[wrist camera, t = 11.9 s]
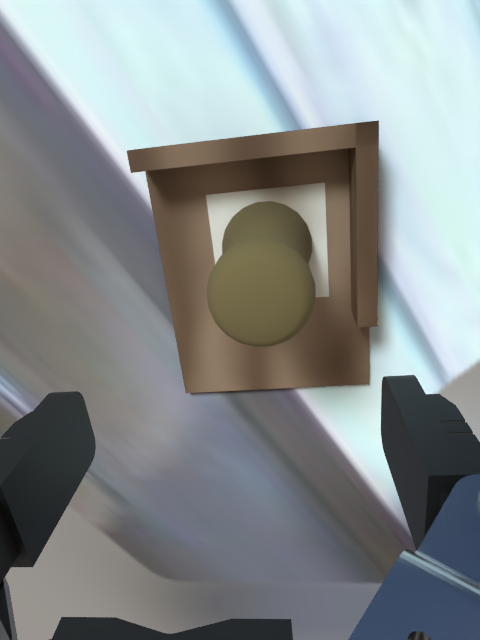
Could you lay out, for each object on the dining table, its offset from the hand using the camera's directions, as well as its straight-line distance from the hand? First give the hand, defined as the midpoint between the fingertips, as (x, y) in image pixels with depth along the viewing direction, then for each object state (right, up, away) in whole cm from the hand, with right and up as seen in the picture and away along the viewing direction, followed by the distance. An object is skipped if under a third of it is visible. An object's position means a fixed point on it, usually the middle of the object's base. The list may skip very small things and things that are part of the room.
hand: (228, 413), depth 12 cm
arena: (+2, +6, +19) cm, 20 cm away
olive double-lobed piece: (+2, +7, +18) cm, 20 cm away
